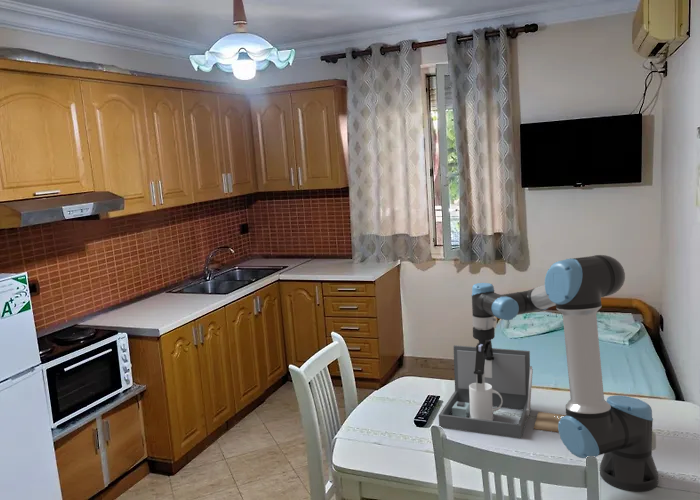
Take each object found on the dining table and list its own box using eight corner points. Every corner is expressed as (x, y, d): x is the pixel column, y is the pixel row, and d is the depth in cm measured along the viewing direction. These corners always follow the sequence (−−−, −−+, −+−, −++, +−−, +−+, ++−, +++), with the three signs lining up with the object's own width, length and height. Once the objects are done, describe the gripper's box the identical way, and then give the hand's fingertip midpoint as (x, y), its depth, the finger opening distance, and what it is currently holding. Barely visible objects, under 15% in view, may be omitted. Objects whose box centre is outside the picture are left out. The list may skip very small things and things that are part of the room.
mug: (503, 414, 212) (503, 383, 210) (501, 424, 204) (500, 392, 202) (471, 412, 216) (470, 381, 214) (467, 421, 208) (466, 389, 206)
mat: (577, 434, 194) (577, 433, 193) (533, 429, 199) (533, 428, 199) (579, 417, 206) (579, 416, 206) (538, 412, 212) (538, 411, 212)
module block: (465, 419, 210) (465, 407, 209) (452, 418, 212) (451, 405, 212) (470, 413, 215) (469, 400, 215) (457, 411, 218) (456, 399, 217)
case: (524, 438, 193) (523, 373, 190) (439, 427, 205) (436, 365, 202) (533, 410, 215) (532, 351, 211) (456, 401, 227) (454, 345, 223)
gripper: (487, 338, 193) (488, 398, 196) (500, 318, 215) (501, 372, 218) (464, 336, 196) (466, 396, 199) (480, 316, 218) (481, 370, 221)
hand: (484, 384), depth 209 cm, fingers open, 13 cm apart
